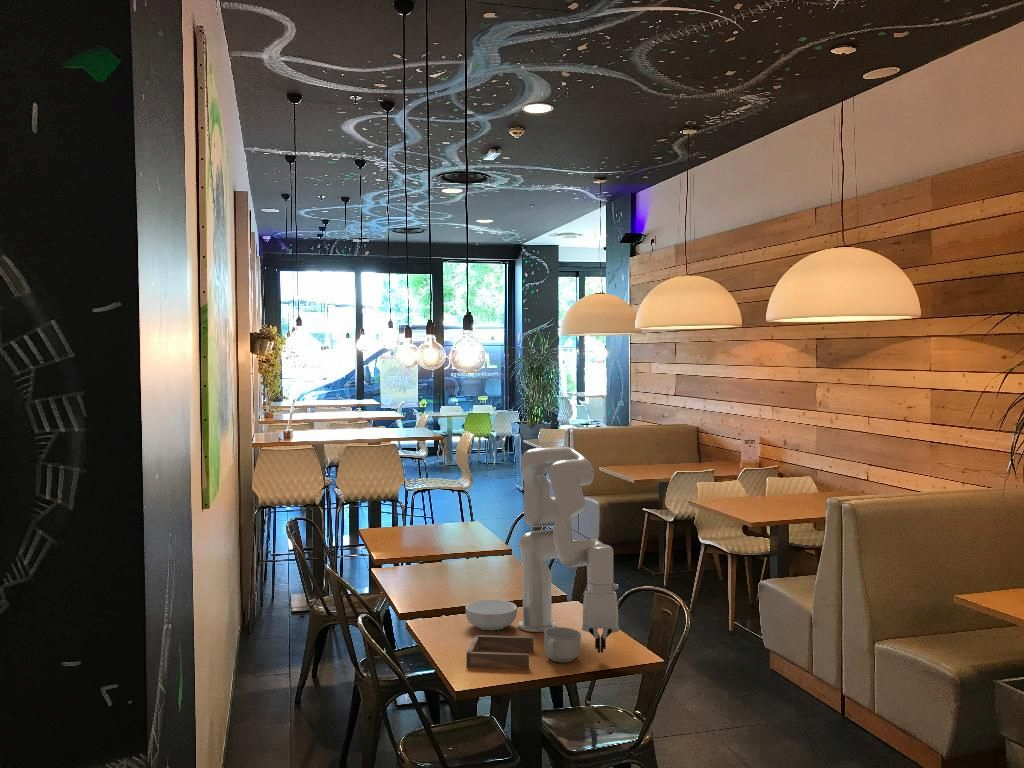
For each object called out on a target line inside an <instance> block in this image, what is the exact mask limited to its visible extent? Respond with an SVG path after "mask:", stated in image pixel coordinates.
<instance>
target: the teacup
mask: <svg viewBox="0 0 1024 768" xmlns="http://www.w3.org/2000/svg"><path fill="white" fill-rule="evenodd" d="M543 634H544V636H543V639H544V640H543V649H544V653H545V655H546V656H547V657H548V658H549V659H550V660H552V661H553V662H556V663H570V662H572V661H573V660H574V659H576V658H577V657H578V655H579V654H580V651H581V650H580V649H581V637H582V633H581V632H580V631H578V630H576V629H573V628H570V627H565V626H564V627H563V626H556V627H553V628H548V629H546V630H545V631H544V632H543Z"/></svg>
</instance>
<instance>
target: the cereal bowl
mask: <svg viewBox="0 0 1024 768" xmlns="http://www.w3.org/2000/svg"><path fill="white" fill-rule="evenodd" d="M517 612H518V607H517V605H516V604H515V603H513V602H510V601H508V600H503V599H502V600H501V599H483V600H475V601H472V602H469V603H468V604H467V605H466V606H465V616H466V619H467V620H468V622H469V624H471V625H472V626H474V627H475V628H479V630H481V629H483V630H482V631H485V630H498V631H501V630H503V629H504V628H506V627H508V626H510V625H511V624H513V623H514V622H515V620H516V617H517ZM500 629H501V630H500Z"/></svg>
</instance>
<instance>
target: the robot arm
mask: <svg viewBox="0 0 1024 768" xmlns="http://www.w3.org/2000/svg"><path fill="white" fill-rule="evenodd" d="M520 472H521V476H522V480H523V486H524V487H523V489H524V490H523V492H524V493H523V494H524V495H523V500H524V501H523V509H524V510H523V512H524V513H523V514H524V515H523V516H524V521H525V523H526V525H527V526H529V527H531V528H541V527H552V529H551V528H550V529H541V530H540V529H539V530H531V531H528V532H525V533H524V534H523V535H521V537H520V539H519V542H518V543H519V551H520V552H519V553H520V558H521V565H522V566H521V567H522V620H520V621H518V623H517V627H518V628H519V629H520V630H522V631H525V632H530V633H544V631H545V630H546V629H548V628H553V627H557V622H555V621H554V620H553V619H552V616H553V615H552V572H551V569H550V568H549V566H548V565H547V563H546V560H551V559H553V560H554V559H558V560H559V561H560V563H561V565H562V566H564V567H566V568H576V567H584V566H585V567H586V571H587V573H586V577H587V579H586V580H587V581H586V582H587V584H586V586H587V590H585V591H584V594H583V602H582V625H581V631H583V632H587V633H590V634H591V635H592V636H593V637H594V639H595V641H594V643H595V647H594V649H596V650H597V653H598V654H599V653H601V654H603V653H604V650H606V649H607V647H606V643H607V642H606V641H607V640H606V639H607V638H608V637H609V636H610V635H611V634H612V633H618V632H620V627H619V609H618V608H619V607H618V605H619V604H618V598H617V591H615V590H619V583H618V584H616V583H615V582H614V548H613V547H612V546H611V545H609V544H604V543H603V542H602V541H601V540H599V539H597V538H591V539H589V538H588V539H579V540H572V518H573V517H576V516H578V514H581V512H584V510H585V509H586V506H587V502H586V500H585V499H586V498H585V496H584V492H583V490H582V487H585V486H590V485H591V484H592V483H593V481H594V478H595V472H594V468H593V465H592V464H591V462H590V461H589V460H588V458H586V457H585V456H584V455H582V454H581V453H579V452H578V451H576V450H575V449H573V448H571V447H568V446H558V447H557V446H556V447H554V446H553V447H552V446H551V447H537V448H531V449H528V450H526V451H525V452H524V453H523V454H522V456H521V459H520ZM546 475H548V476H549V480H550V482H549V480H548V478H547V476H546ZM550 485H551V486H550ZM551 487H552V490H553V495H554V496H551ZM599 629H602V634H601V635H600V634H599Z"/></svg>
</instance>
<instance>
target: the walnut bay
mask: <svg viewBox="0 0 1024 768" xmlns="http://www.w3.org/2000/svg"><path fill="white" fill-rule="evenodd" d="M479 649H483V650H482V651H480V650H479ZM501 650H504V651H505V650H507V651H506V652H488V651H501ZM486 651H487V652H486ZM508 652H509V653H508ZM513 652H514V653H513ZM515 652H534V637H533V636H517V635H516V636H514V635H512V636H511V635H508V636H507V635H504V636H503V635H481V634H480V635H479V634H478V635H477V634H475V635H474V637H473V639H472V641H471V643H470V645H469V648H468V649H467V651H466V668H483V669H504V670H505V669H507V670H509V669H511V670H530V654H529V653H515Z"/></svg>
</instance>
